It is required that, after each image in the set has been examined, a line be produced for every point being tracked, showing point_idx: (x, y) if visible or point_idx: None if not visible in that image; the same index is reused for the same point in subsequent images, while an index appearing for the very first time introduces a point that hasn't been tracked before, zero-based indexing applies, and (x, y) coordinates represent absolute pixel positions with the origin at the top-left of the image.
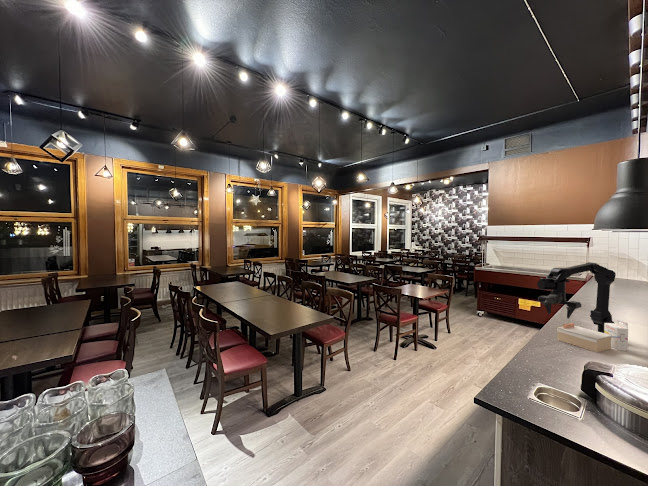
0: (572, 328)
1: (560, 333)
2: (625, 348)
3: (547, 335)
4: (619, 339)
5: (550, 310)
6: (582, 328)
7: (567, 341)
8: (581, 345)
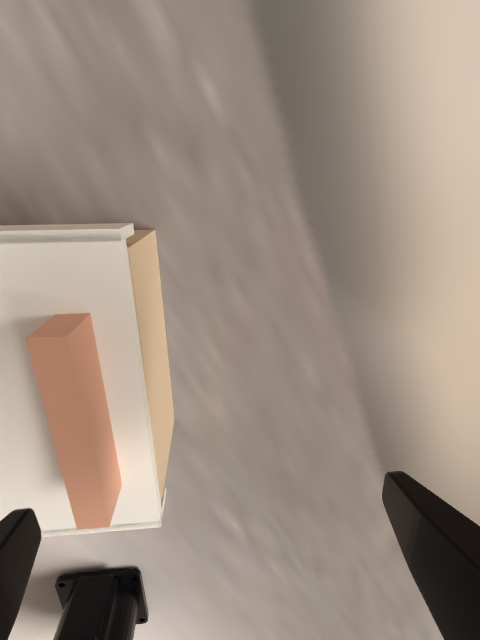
0: (44, 409)
1: None
2: None
3: (270, 263)
4: None
5: (429, 592)
6: (22, 508)
7: None
8: None
